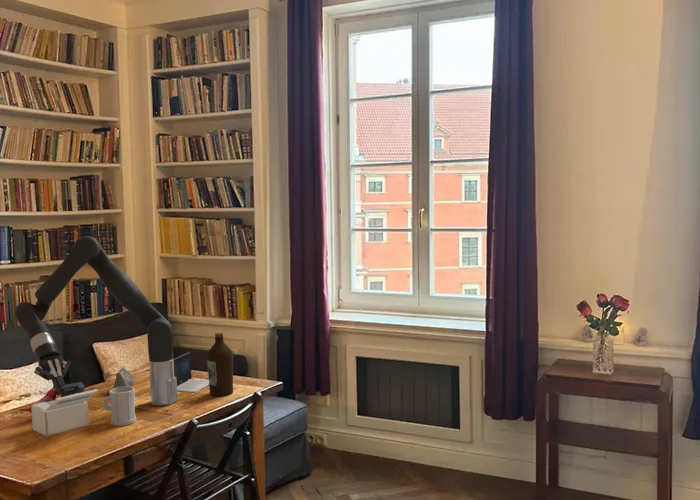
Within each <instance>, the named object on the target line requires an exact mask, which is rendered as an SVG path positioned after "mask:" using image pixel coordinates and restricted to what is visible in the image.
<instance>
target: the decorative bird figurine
mask: <svg viewBox="0 0 700 500" xmlns="http://www.w3.org/2000/svg"><path fill="white" fill-rule="evenodd" d="M58 393H59V392H58V391H57V389H56V388H54V387H53V388H50V389H49V390H48V391H47V392H46V393H45V395H44V396H43V397H41V398H40V399H39V400H37V401H35V402H34V403H33V404H37V403H42V402H45V403H46V402H50V401H54V400H56V399H57V395H58ZM33 404H31V406H33ZM31 406H30V407H28V408H27V407H25V408H20V409H18V411H19V412H28V413H29V412H30V413H31Z"/></svg>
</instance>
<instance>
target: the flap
mask: <svg viewBox="0 0 700 500" xmlns="http://www.w3.org/2000/svg"><path fill="white" fill-rule="evenodd" d="M98 392H99V390H98V389H97V388H96V389H91V390H87V391H86V390H85V392H82V393H78V394H73V395H69V396H65V397H61V396H59V397H56V399H55V401H54V402H53V403H52V404H51V405H50V406H49V407H48V408H47V410H51V409H55V408H59V407H63V406H67V405H71V404H76V403H80V402H84V401H87V402H88V401H89V400H90V399H91V398H92V397H93V396H94V395H95V394H96V393H98Z"/></svg>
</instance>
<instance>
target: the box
mask: <svg viewBox="0 0 700 500" xmlns="http://www.w3.org/2000/svg"><path fill="white" fill-rule="evenodd" d="M85 389H86V388H85V384H84V383H83V382H82V381H79V382H73V383H67V384H66V383H65V384H64V387H63V388H61V389H60V397H65V396H69V395H73V394H78V393H82V392H86V390H85Z"/></svg>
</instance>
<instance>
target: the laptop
mask: <svg viewBox="0 0 700 500" xmlns="http://www.w3.org/2000/svg"><path fill="white" fill-rule="evenodd" d="M191 358H192V357H191V352H190V351H189V352H187V353H184V354H182V355H180V356H178V357H176V358H173V361H174V377H176V378H177V393H178V392H180V393H197V392H198V391H201V390H202V389H204V388H206V387H208V386H209V379H198V378H197V379H196V378H195V379H194V378H192V361H191Z"/></svg>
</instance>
